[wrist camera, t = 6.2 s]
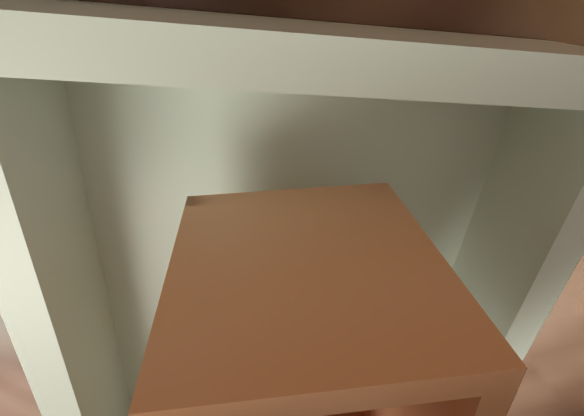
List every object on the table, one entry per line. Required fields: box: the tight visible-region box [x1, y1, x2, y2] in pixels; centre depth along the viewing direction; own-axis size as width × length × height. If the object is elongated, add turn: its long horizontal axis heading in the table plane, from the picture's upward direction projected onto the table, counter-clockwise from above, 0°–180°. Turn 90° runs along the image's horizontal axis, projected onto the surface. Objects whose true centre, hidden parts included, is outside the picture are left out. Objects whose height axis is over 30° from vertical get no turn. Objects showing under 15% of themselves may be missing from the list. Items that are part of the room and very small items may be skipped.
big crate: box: [0, 0, 584, 416], centre depth 12 cm, size 14×16×4 cm
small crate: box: [128, 183, 527, 416], centre depth 9 cm, size 5×8×6 cm, turn 1°
